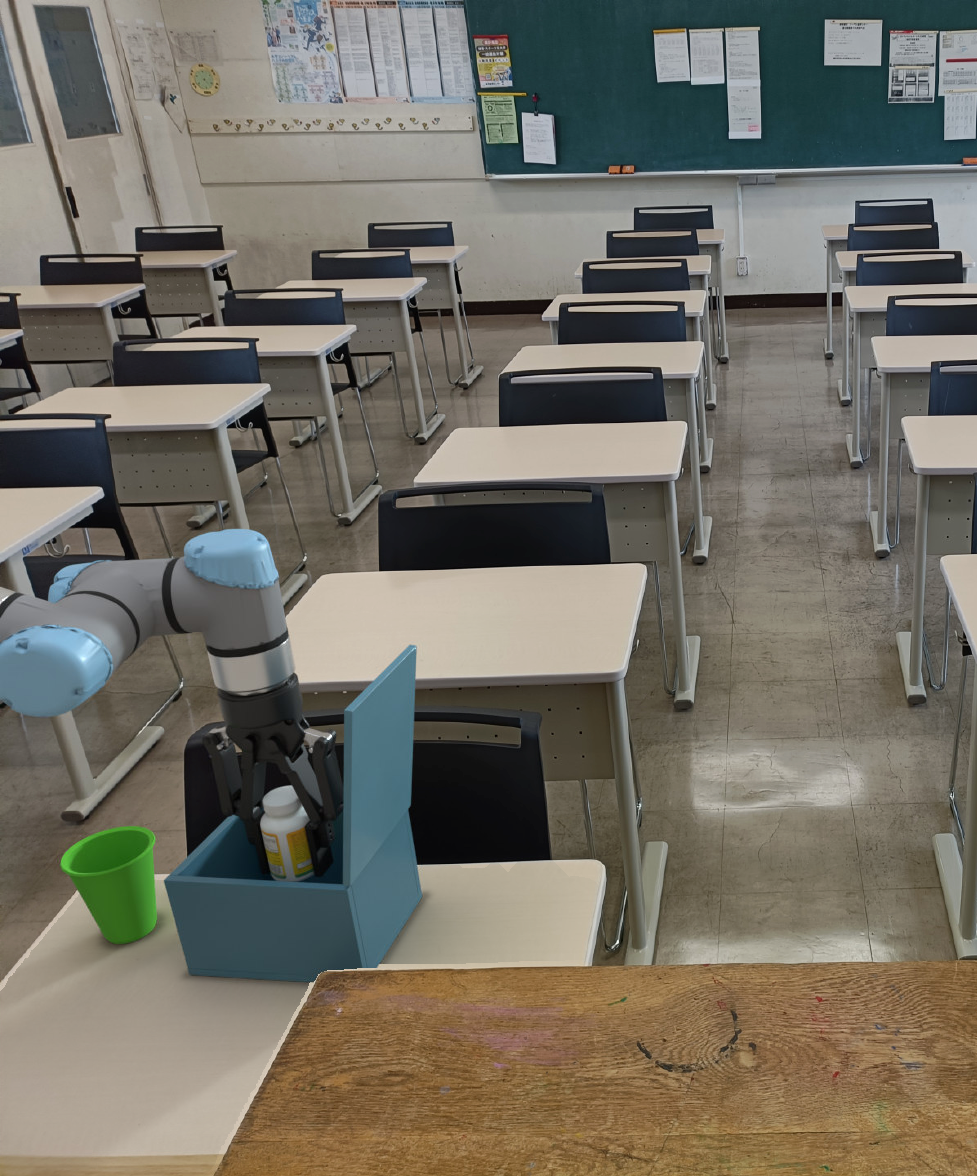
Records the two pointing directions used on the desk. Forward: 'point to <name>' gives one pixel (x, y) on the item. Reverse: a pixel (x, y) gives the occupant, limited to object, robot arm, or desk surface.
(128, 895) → the cup
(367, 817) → the lid
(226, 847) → the chest
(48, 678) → the robot arm
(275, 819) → the supplement bottle
